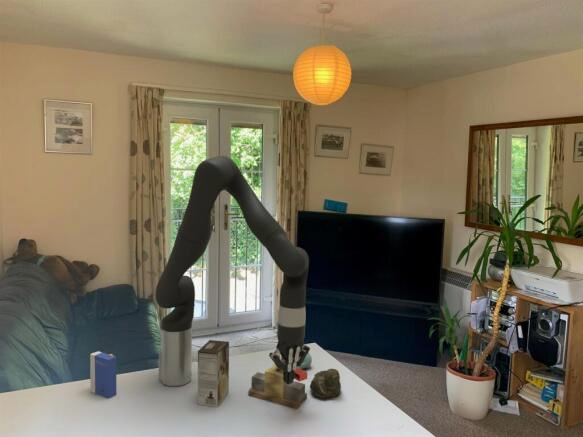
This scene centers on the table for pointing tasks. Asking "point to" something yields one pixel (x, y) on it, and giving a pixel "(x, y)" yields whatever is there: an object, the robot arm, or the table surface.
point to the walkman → (103, 374)
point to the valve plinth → (277, 388)
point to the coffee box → (213, 373)
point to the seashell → (326, 383)
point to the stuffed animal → (306, 362)
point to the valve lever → (297, 374)
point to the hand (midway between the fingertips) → (288, 382)
